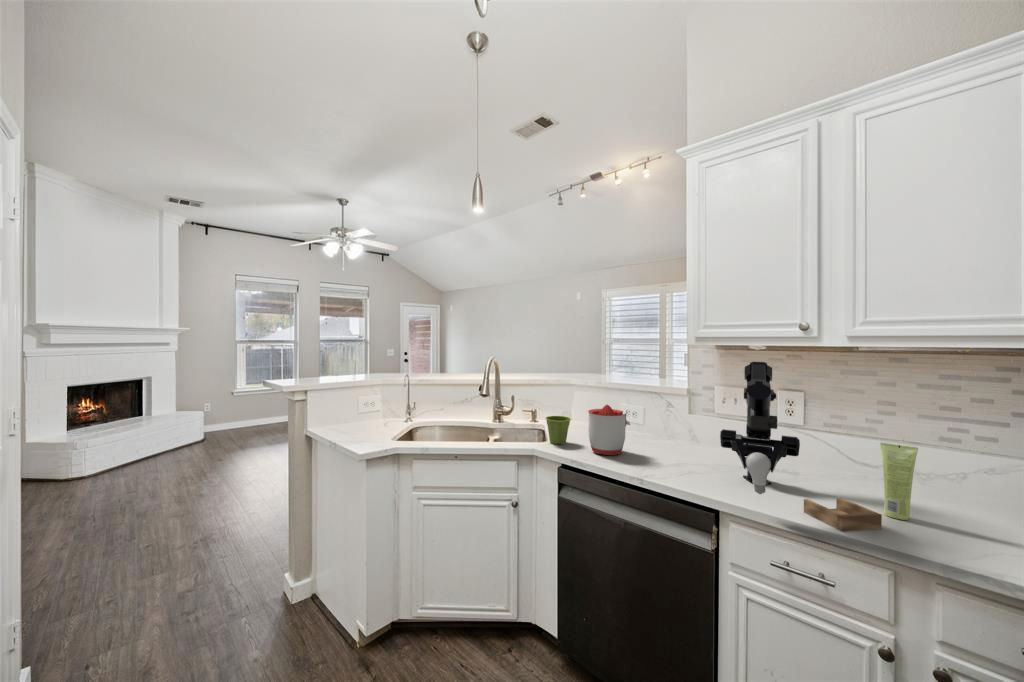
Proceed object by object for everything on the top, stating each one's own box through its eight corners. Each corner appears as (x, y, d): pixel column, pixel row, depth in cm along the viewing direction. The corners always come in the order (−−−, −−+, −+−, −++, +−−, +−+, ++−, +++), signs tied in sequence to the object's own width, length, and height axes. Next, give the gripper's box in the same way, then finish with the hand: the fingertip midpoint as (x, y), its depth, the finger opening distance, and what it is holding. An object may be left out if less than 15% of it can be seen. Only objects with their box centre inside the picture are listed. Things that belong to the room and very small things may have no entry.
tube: (898, 512, 116) (899, 442, 115) (917, 520, 110) (918, 446, 110) (879, 512, 115) (880, 442, 115) (897, 521, 110) (898, 447, 110)
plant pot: (542, 444, 186) (542, 419, 186) (547, 438, 197) (548, 415, 197) (568, 447, 182) (569, 421, 182) (572, 440, 194) (573, 416, 193)
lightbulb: (743, 494, 112) (741, 453, 112) (751, 488, 116) (748, 449, 117) (769, 499, 108) (766, 456, 108) (776, 493, 112) (773, 451, 112)
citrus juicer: (634, 457, 167) (635, 407, 167) (590, 457, 167) (591, 407, 167) (624, 447, 182) (625, 401, 182) (584, 447, 183) (585, 401, 183)
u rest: (803, 512, 115) (803, 499, 115) (840, 510, 117) (840, 497, 117) (841, 531, 104) (841, 516, 104) (881, 528, 105) (881, 514, 105)
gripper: (721, 401, 120) (717, 448, 111) (799, 407, 111) (803, 459, 101) (722, 423, 127) (719, 469, 118) (796, 430, 118) (799, 481, 108)
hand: (758, 469), depth 111 cm, fingers closed on lightbulb, 6 cm apart
